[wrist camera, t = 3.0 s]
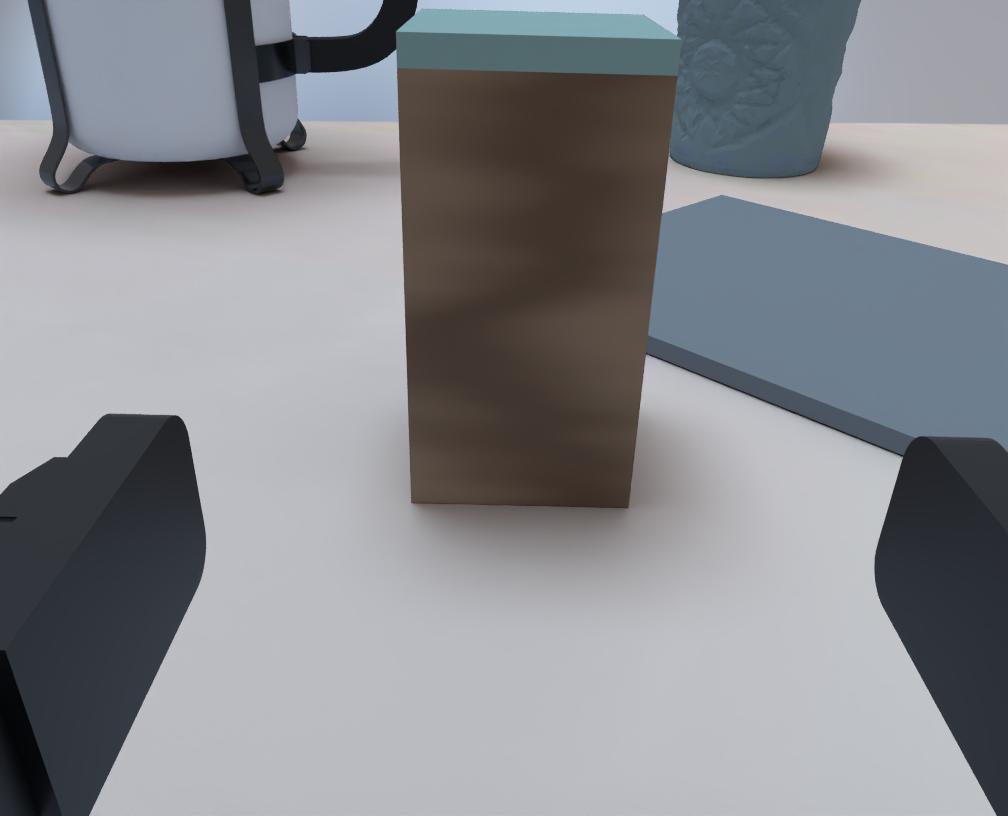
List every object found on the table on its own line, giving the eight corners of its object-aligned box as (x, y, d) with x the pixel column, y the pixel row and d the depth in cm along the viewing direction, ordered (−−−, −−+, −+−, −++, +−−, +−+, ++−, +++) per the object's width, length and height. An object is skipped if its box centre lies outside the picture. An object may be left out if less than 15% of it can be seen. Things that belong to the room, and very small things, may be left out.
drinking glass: (672, 178, 47) (701, -77, 41) (643, 138, 56) (665, -76, 50) (858, 182, 47) (914, -71, 41) (800, 142, 56) (840, -71, 50)
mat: (478, 285, 32) (478, 270, 32) (720, 207, 42) (721, 195, 42) (1078, 525, 20) (1087, 504, 19) (1219, 334, 30) (1226, 318, 29)
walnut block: (411, 502, 20) (395, 31, 15) (429, 399, 24) (421, 8, 20) (628, 508, 20) (681, 39, 15) (607, 404, 24) (643, 14, 20)
